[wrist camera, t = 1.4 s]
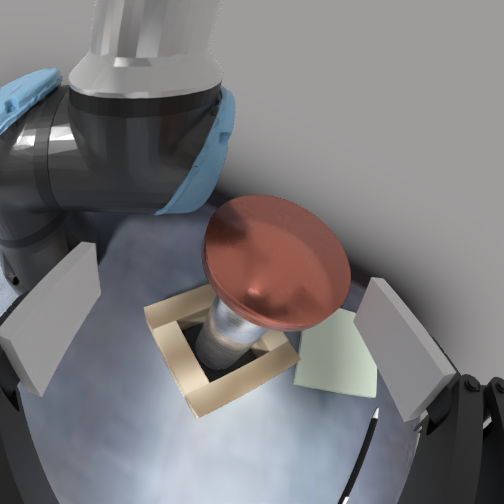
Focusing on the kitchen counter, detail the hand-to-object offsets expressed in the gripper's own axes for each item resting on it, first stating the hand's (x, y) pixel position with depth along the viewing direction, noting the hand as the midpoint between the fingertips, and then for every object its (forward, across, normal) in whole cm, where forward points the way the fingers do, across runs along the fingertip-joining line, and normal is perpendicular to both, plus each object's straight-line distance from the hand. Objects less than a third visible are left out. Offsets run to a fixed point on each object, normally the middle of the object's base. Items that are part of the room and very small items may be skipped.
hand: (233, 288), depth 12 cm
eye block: (+12, 0, -16) cm, 19 cm away
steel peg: (+12, 0, -16) cm, 19 cm away
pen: (-2, +17, -25) cm, 31 cm away
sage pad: (+13, +16, -16) cm, 27 cm away
